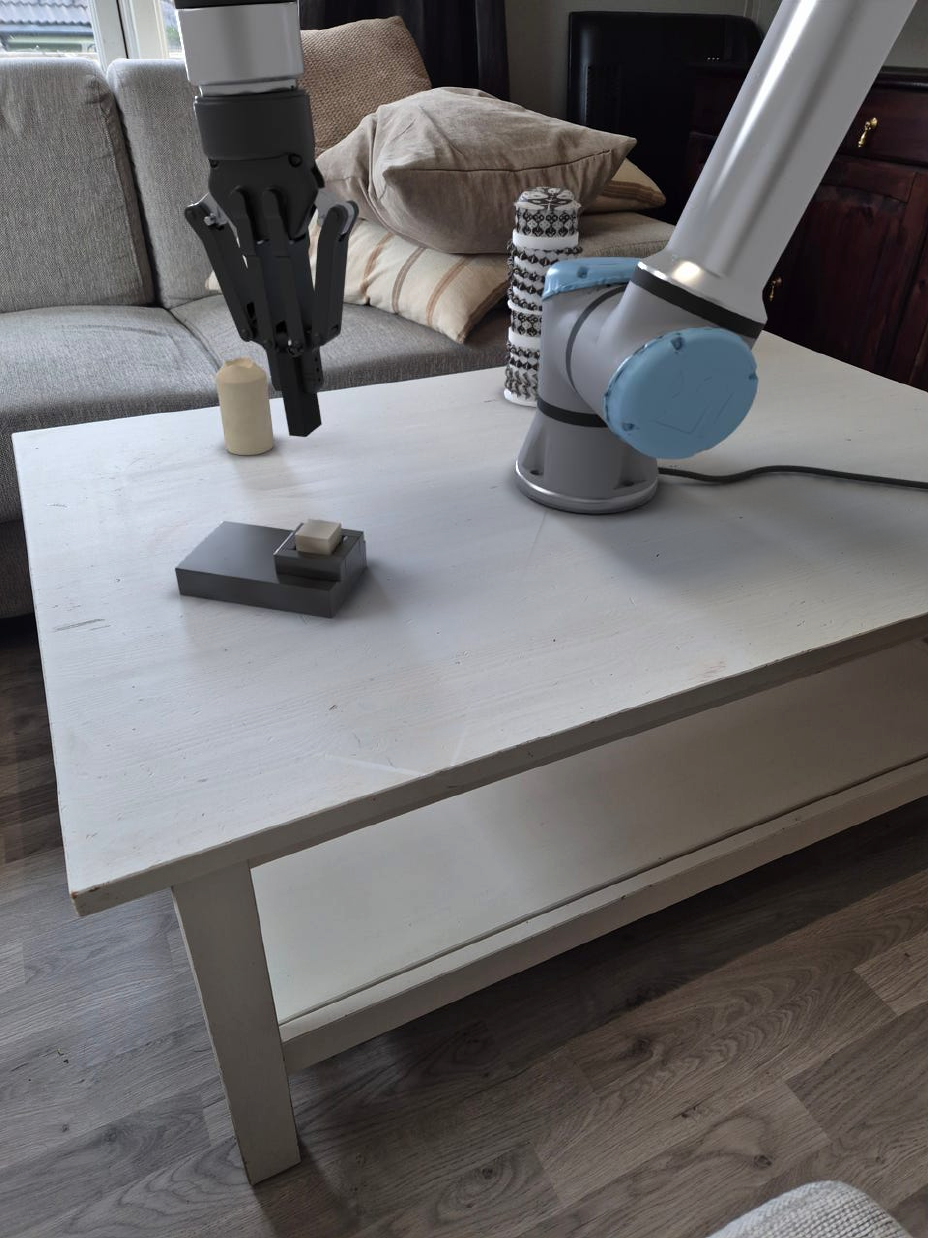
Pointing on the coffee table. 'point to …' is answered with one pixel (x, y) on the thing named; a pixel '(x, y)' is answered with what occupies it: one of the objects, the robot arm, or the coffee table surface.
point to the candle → (245, 407)
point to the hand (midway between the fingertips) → (305, 429)
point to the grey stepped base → (271, 569)
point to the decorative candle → (535, 279)
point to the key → (319, 537)
